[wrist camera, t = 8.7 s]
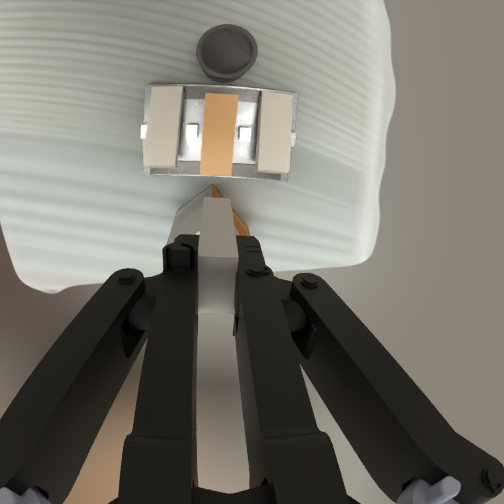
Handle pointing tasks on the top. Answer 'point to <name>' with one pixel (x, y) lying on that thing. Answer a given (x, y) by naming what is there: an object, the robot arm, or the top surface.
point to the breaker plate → (194, 127)
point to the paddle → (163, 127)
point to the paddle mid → (218, 134)
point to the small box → (192, 213)
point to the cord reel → (226, 52)
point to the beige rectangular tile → (274, 133)
